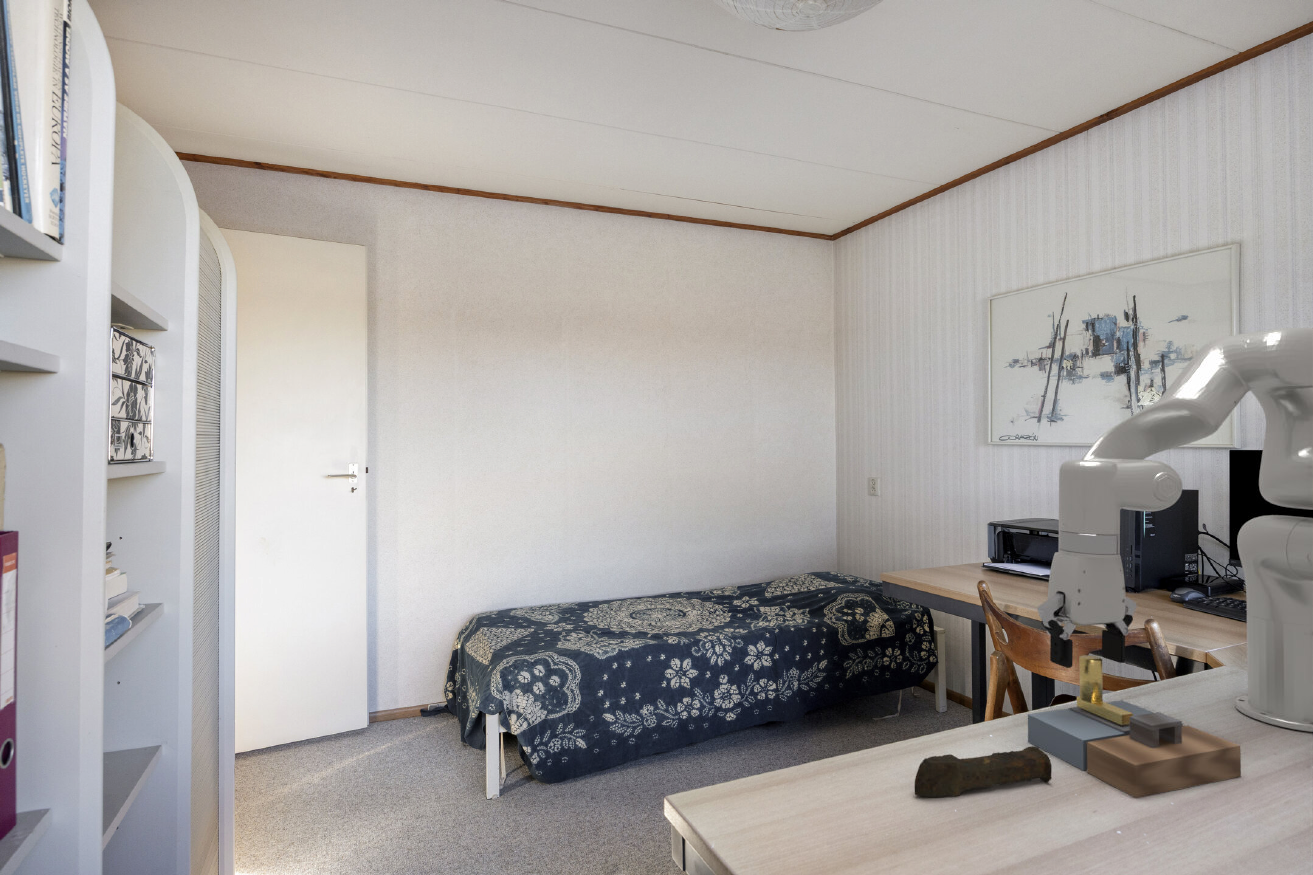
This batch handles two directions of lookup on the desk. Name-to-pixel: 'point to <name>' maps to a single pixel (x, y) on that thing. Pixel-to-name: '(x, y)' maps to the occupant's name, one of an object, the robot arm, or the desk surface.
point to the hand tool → (980, 771)
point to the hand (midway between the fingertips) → (1087, 662)
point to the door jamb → (1162, 757)
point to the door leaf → (1075, 731)
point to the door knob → (1097, 692)
